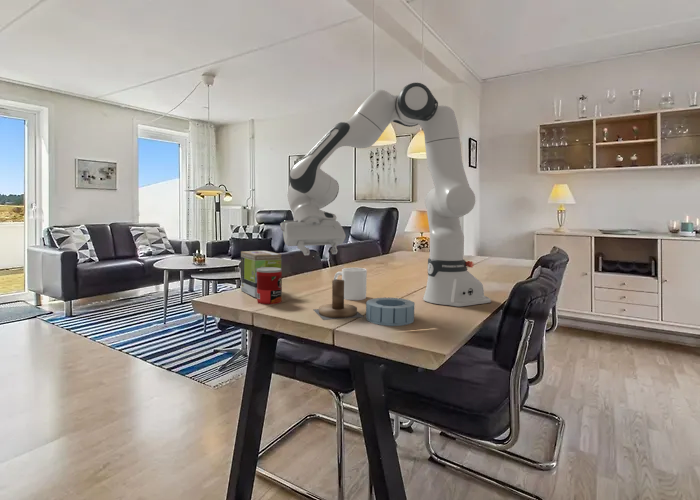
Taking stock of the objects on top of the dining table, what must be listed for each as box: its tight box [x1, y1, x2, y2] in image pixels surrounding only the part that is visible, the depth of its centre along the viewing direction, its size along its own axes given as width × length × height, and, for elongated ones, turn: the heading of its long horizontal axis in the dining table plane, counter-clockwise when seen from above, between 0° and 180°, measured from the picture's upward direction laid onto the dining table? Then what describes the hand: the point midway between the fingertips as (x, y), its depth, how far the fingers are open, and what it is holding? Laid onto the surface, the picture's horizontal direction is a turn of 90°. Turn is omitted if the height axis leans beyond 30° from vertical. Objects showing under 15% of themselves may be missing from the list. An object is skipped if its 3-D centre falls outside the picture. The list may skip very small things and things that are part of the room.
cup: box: [333, 267, 368, 301], centre depth 143 cm, size 8×12×10 cm
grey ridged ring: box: [365, 296, 416, 327], centre depth 115 cm, size 13×13×5 cm
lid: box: [318, 279, 358, 319], centre depth 121 cm, size 11×11×10 cm
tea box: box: [240, 250, 282, 299], centre depth 149 cm, size 15×10×15 cm, turn 33°
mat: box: [313, 308, 365, 321], centre depth 121 cm, size 12×12×1 cm
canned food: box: [256, 267, 283, 305], centre depth 134 cm, size 8×8×11 cm
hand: (321, 253), depth 130 cm, fingers open, 8 cm apart
